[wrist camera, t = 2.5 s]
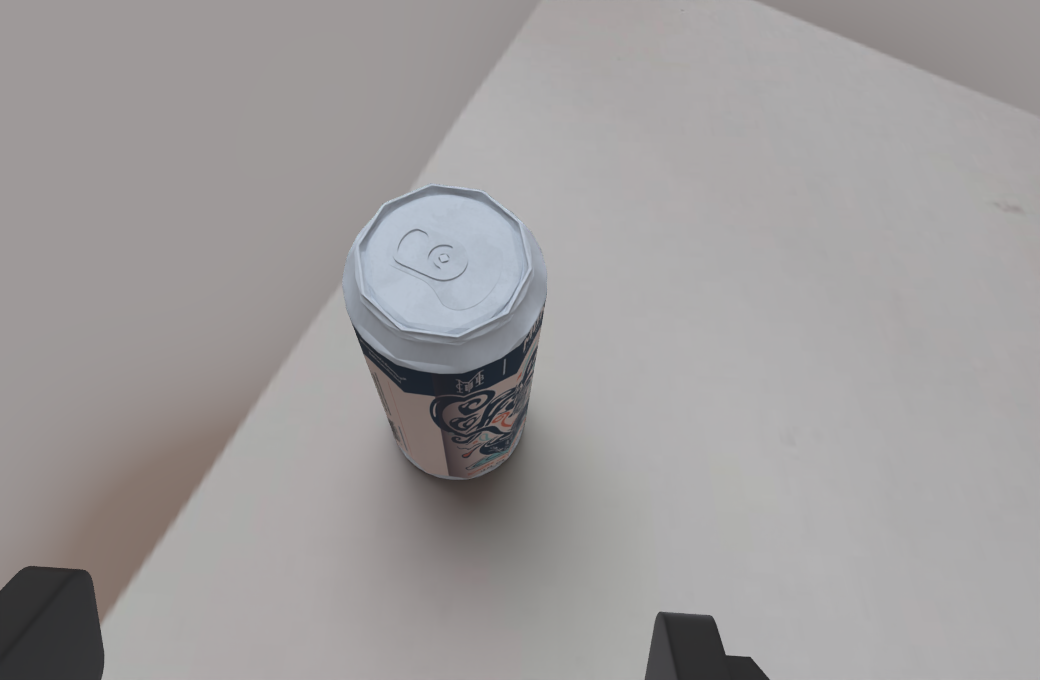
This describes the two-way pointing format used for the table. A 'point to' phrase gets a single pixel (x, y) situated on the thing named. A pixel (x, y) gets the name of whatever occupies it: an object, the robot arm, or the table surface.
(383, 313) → the beer can
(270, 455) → the table surface
